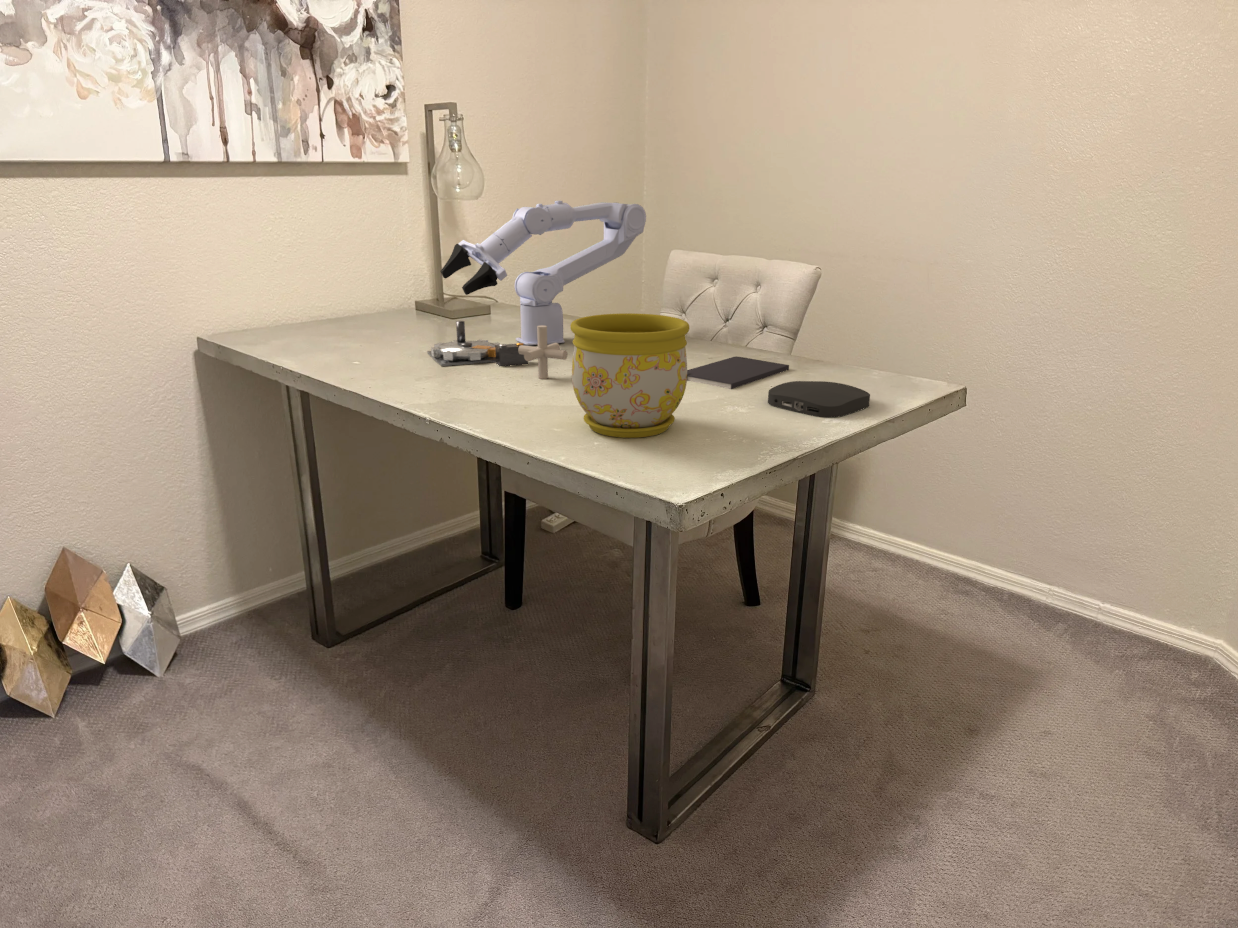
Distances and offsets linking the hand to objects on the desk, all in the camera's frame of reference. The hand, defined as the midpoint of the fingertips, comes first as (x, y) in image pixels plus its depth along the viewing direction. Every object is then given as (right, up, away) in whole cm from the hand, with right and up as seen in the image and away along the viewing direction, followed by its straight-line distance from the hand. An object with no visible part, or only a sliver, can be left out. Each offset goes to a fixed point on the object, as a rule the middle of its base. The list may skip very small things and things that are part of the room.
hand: (453, 283), depth 182 cm
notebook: (+58, -22, -13) cm, 64 cm away
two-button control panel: (+13, -18, -6) cm, 24 cm away
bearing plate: (+3, -16, -1) cm, 16 cm away
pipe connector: (+21, -22, -18) cm, 35 cm away
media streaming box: (+70, -29, -34) cm, 83 cm away
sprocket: (+3, -16, -1) cm, 16 cm away
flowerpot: (+37, -33, -48) cm, 69 cm away
